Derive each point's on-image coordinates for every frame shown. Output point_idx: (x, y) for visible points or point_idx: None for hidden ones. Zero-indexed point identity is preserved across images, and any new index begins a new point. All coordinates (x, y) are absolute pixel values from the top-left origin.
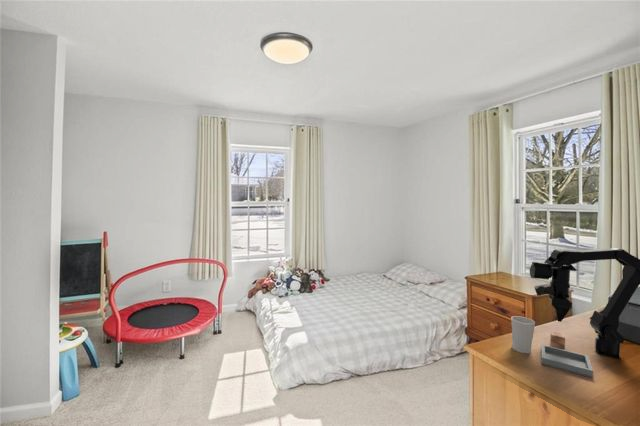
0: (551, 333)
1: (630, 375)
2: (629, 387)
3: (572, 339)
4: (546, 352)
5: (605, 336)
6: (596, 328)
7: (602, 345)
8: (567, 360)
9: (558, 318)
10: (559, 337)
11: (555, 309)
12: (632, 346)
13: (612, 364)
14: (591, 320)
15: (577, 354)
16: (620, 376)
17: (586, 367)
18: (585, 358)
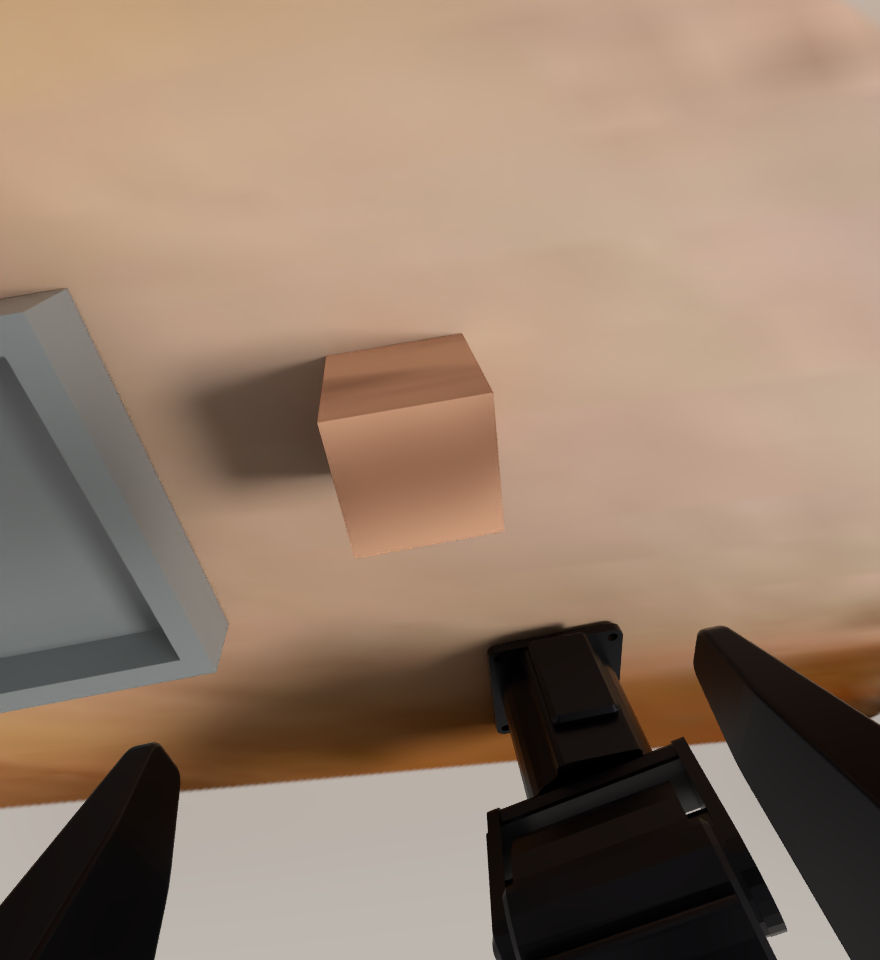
0: (384, 415)
1: (254, 774)
2: (43, 791)
3: (719, 483)
4: (4, 363)
5: (498, 848)
6: (557, 866)
7: (528, 720)
8: (27, 542)
9: (78, 837)
10: (342, 500)
11: (788, 726)
12: None
13: (352, 711)
14: (708, 888)
15: (159, 618)
16: (174, 754)
17: (48, 649)
18: (120, 669)
